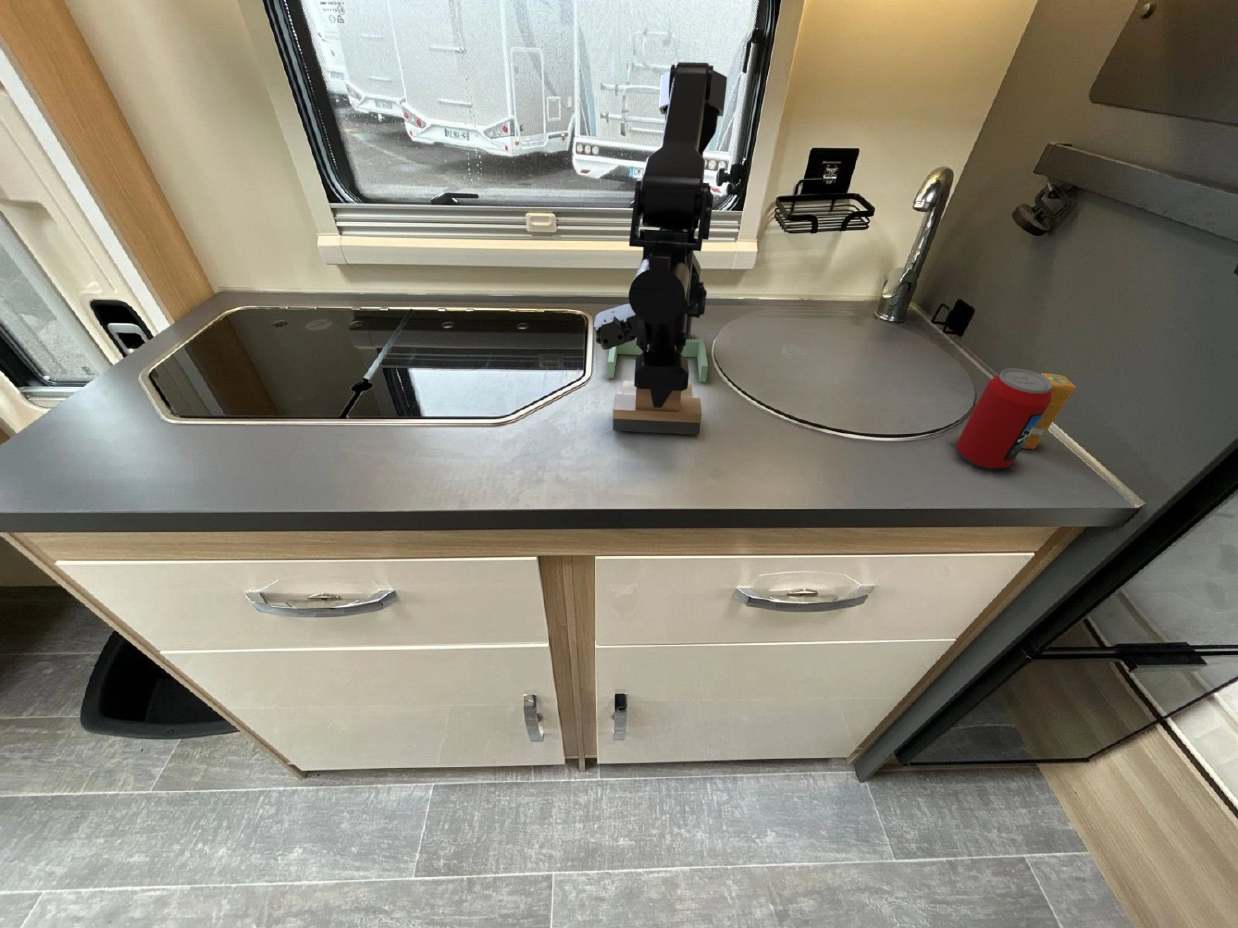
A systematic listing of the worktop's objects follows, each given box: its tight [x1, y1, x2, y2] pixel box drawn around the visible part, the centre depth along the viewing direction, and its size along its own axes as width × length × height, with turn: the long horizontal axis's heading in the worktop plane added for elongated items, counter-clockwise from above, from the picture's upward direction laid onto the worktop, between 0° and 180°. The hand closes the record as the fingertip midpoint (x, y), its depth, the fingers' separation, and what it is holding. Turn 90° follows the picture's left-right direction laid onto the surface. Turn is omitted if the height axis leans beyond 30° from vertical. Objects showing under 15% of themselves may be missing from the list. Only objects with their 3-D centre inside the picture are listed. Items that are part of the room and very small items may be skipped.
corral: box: [607, 338, 709, 383], centre depth 88 cm, size 10×16×3 cm, turn 86°
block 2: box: [681, 383, 694, 398], centre depth 77 cm, size 4×4×4 cm
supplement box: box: [1022, 372, 1077, 450], centre depth 70 cm, size 3×4×10 cm
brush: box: [612, 388, 703, 435], centre depth 72 cm, size 4×12×8 cm, turn 86°
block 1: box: [621, 380, 636, 395], centre depth 77 cm, size 4×4×4 cm
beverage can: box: [956, 367, 1052, 469], centre depth 67 cm, size 7×7×12 cm
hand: (657, 400), depth 72 cm, fingers closed on brush, 3 cm apart
